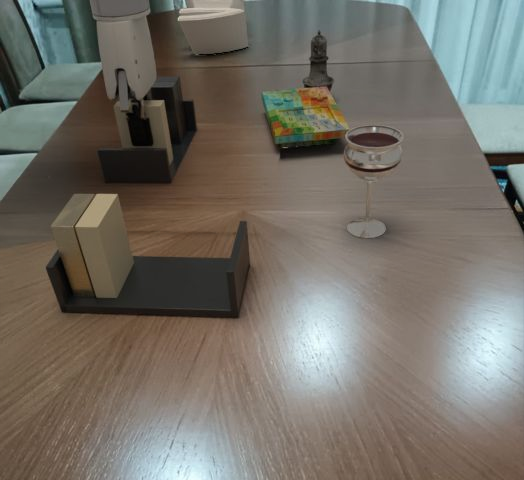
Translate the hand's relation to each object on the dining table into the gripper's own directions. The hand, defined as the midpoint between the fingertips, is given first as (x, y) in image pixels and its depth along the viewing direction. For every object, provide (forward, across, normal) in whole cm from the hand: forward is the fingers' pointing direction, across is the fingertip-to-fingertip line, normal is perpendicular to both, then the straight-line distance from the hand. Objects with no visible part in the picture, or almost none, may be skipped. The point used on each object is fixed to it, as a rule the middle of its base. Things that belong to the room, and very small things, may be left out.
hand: (145, 139), depth 87 cm
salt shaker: (+5, -29, +25) cm, 39 cm away
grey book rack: (+5, -3, 0) cm, 5 cm away
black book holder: (+5, +31, +9) cm, 33 cm away
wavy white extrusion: (+5, -72, -2) cm, 72 cm away
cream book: (+4, 0, 0) cm, 4 cm away
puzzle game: (+5, -14, +23) cm, 27 cm away
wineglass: (+5, +17, +33) cm, 37 cm away
